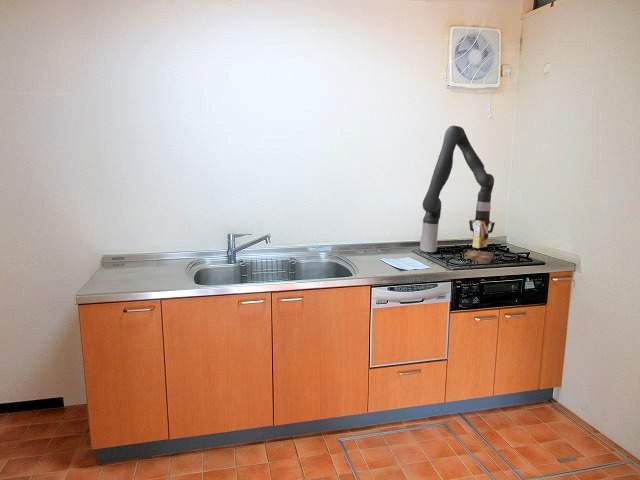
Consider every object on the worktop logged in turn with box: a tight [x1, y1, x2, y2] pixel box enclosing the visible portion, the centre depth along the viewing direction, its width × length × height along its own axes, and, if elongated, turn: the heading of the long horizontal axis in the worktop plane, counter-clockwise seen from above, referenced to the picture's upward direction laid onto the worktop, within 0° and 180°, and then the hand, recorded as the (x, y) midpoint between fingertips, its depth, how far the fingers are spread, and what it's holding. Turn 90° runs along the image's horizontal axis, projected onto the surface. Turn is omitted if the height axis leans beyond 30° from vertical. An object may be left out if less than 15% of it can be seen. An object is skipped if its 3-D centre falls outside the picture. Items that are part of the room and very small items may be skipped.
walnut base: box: [463, 249, 494, 264], centre depth 266 cm, size 14×14×3 cm
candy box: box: [472, 220, 490, 249], centre depth 263 cm, size 9×4×15 cm, turn 130°
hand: (480, 239), depth 264 cm, fingers closed on candy box, 5 cm apart
